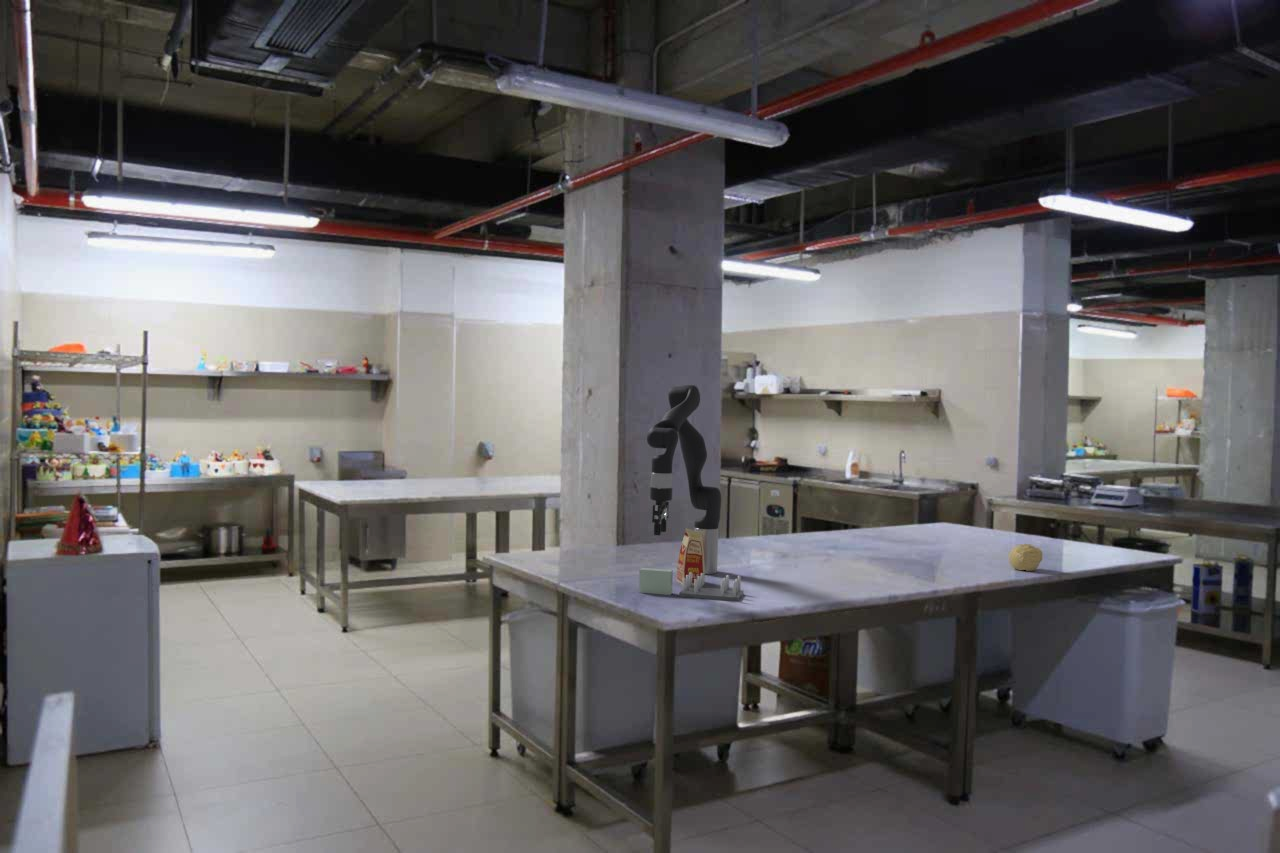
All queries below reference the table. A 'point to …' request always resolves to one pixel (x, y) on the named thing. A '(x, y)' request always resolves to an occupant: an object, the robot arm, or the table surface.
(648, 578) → the sage green prism
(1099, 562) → the table surface
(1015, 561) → the yellow lumpy ball
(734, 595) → the dish rack
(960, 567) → the table surface
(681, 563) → the milk carton
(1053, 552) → the table surface
